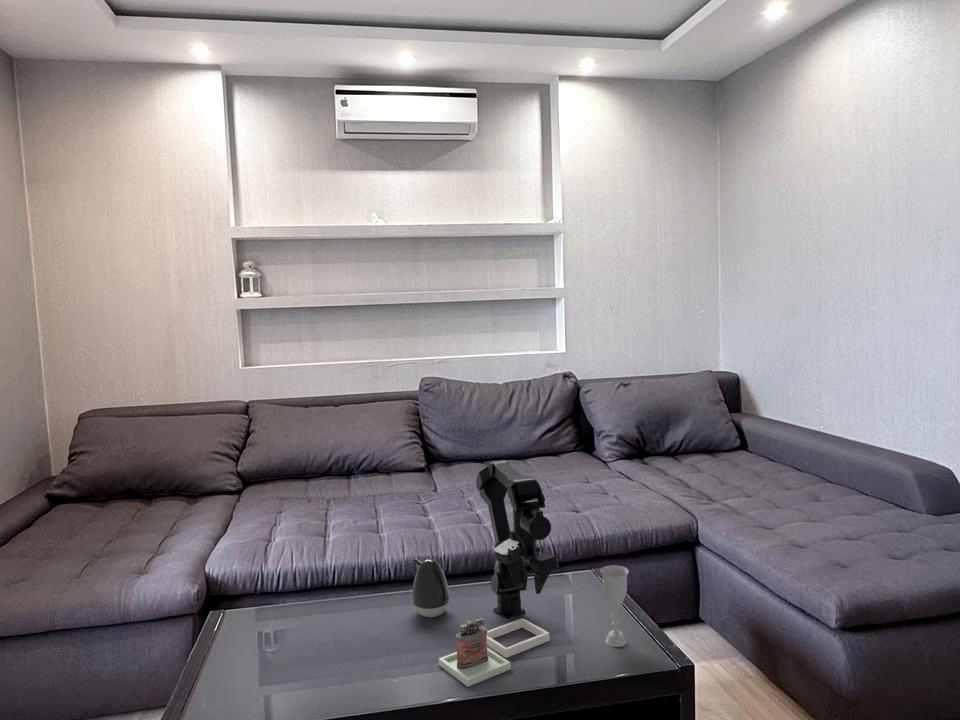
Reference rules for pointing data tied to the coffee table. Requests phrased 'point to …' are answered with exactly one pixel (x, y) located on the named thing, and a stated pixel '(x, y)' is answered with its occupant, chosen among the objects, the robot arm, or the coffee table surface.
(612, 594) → the chalice
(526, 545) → the robot arm
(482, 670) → the tray
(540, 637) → the white picture frame
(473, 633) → the lighter
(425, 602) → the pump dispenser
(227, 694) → the coffee table surface
